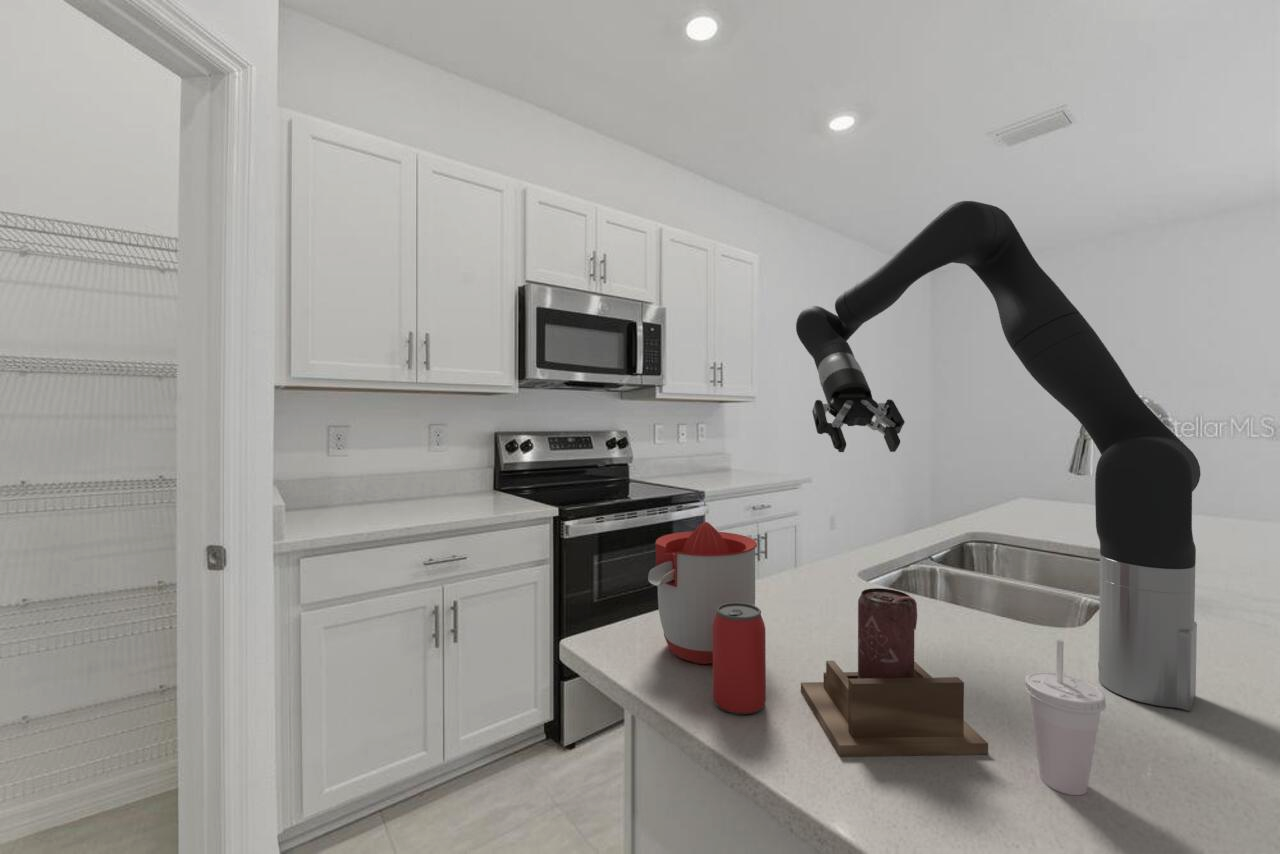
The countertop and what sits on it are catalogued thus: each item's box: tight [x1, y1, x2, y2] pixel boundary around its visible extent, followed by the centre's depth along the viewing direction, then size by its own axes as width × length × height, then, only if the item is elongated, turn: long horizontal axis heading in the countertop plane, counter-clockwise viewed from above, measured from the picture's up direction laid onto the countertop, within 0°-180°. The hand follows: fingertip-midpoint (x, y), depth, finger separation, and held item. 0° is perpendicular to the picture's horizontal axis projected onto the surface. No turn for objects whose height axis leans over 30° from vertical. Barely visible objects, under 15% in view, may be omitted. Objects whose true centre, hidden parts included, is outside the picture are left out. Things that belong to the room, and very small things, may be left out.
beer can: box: [712, 602, 767, 715], centre depth 71 cm, size 7×7×12 cm
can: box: [857, 587, 918, 679], centre depth 67 cm, size 6×6×14 cm
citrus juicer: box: [647, 521, 758, 665], centre depth 87 cm, size 16×17×20 cm
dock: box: [800, 660, 989, 757], centre depth 67 cm, size 14×16×7 cm
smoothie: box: [1024, 638, 1107, 796], centre depth 56 cm, size 6×6×14 cm
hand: (869, 448), depth 92 cm, fingers open, 8 cm apart
